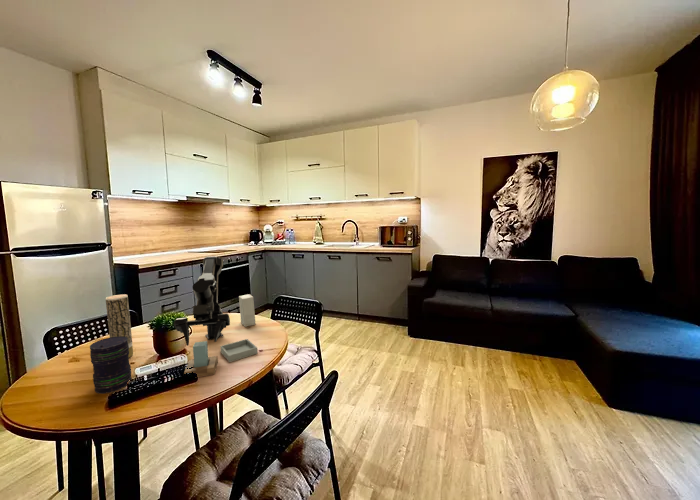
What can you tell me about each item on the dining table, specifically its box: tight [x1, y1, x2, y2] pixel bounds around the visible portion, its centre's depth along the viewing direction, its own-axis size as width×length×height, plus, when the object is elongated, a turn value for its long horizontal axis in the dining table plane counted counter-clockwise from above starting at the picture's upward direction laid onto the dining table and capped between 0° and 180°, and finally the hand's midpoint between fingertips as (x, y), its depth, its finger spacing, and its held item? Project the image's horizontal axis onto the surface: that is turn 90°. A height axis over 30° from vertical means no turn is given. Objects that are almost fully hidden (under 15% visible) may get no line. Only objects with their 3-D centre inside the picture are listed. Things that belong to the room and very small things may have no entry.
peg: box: [192, 340, 209, 368], centre depth 105 cm, size 4×4×10 cm
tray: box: [219, 338, 258, 363], centre depth 119 cm, size 11×11×3 cm
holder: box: [183, 355, 219, 378], centre depth 106 cm, size 9×9×2 cm
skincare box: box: [238, 293, 256, 328], centre depth 152 cm, size 8×6×15 cm
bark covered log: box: [105, 293, 134, 358], centre depth 115 cm, size 7×7×25 cm
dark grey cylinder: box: [89, 336, 133, 395], centre depth 96 cm, size 10×10×15 cm
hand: (201, 343), depth 107 cm, fingers open, 9 cm apart
